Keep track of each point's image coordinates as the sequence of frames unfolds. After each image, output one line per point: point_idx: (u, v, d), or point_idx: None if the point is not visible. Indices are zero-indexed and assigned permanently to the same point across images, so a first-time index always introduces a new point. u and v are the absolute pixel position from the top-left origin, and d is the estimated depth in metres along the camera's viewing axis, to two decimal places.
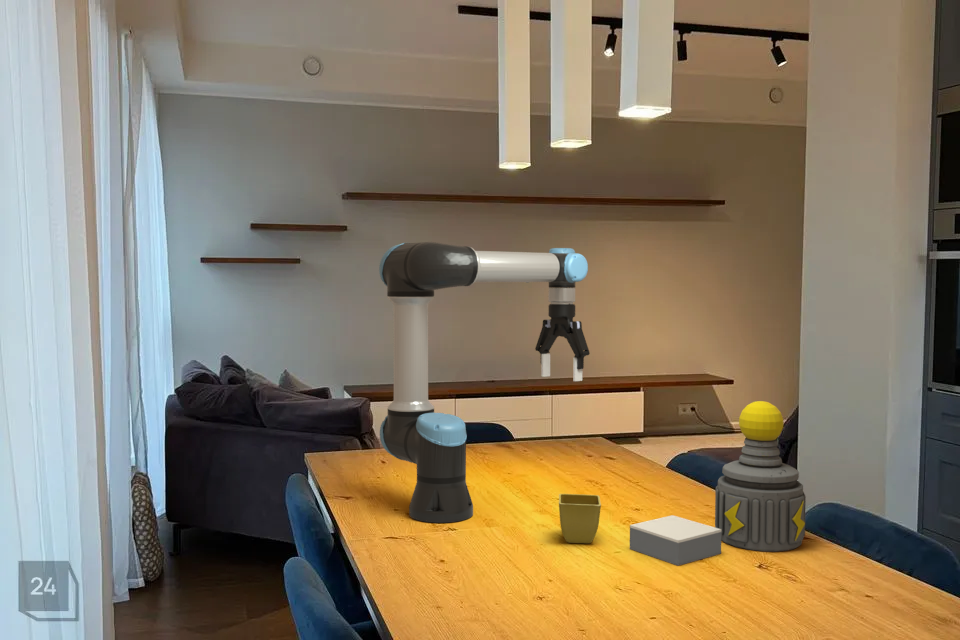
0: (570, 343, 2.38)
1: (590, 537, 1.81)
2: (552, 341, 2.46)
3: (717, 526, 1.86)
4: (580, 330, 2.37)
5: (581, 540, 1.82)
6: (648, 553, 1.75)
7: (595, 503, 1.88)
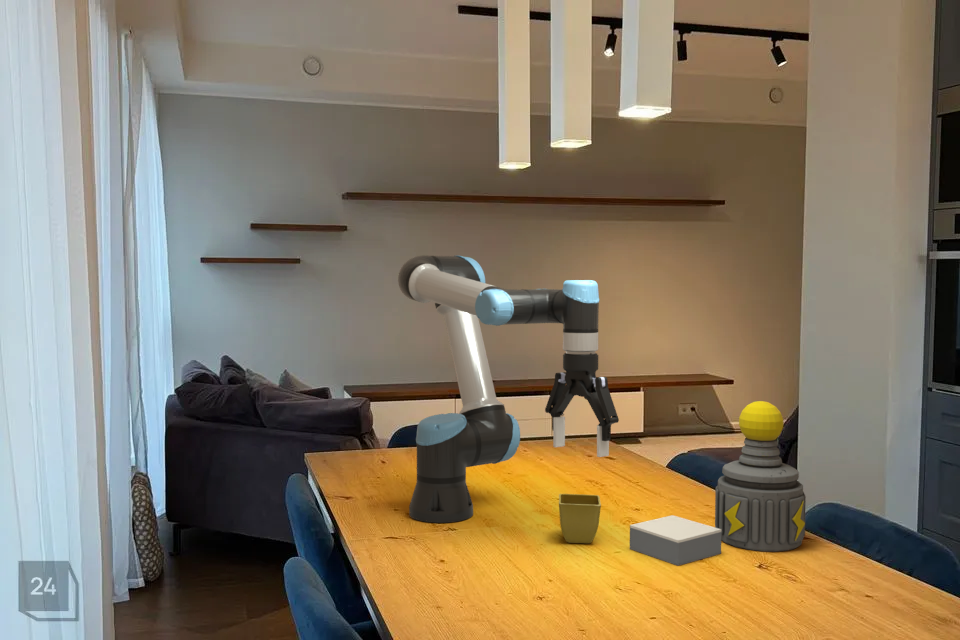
0: (592, 406, 1.80)
1: (590, 537, 1.81)
2: (567, 401, 1.88)
3: (717, 526, 1.86)
4: (606, 389, 1.79)
5: (581, 540, 1.82)
6: (648, 553, 1.75)
7: (595, 503, 1.88)
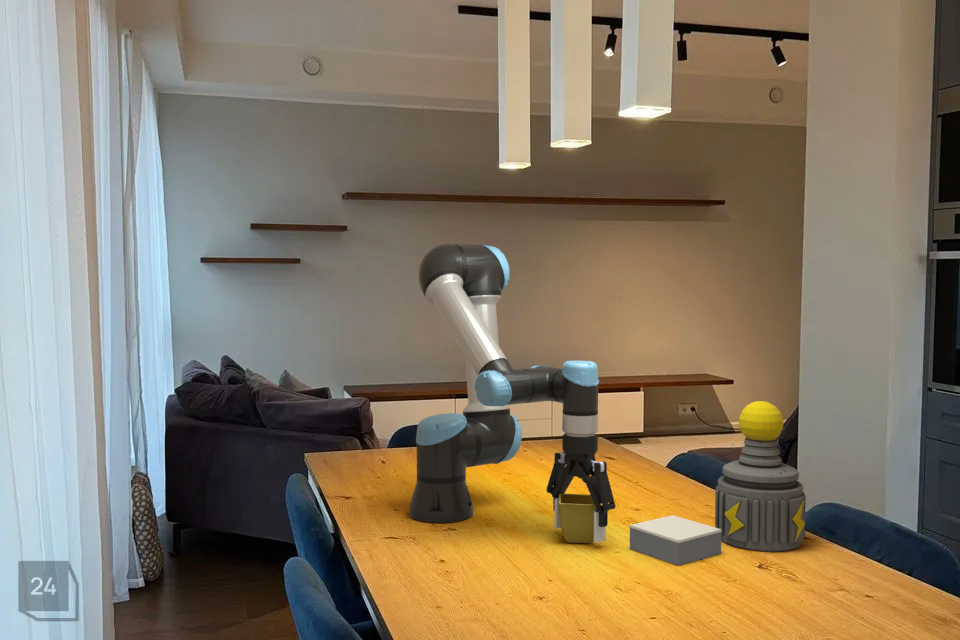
0: (590, 490, 1.80)
1: (590, 537, 1.81)
2: (568, 481, 1.88)
3: (717, 526, 1.86)
4: (604, 474, 1.79)
5: (581, 540, 1.82)
6: (648, 553, 1.75)
7: None
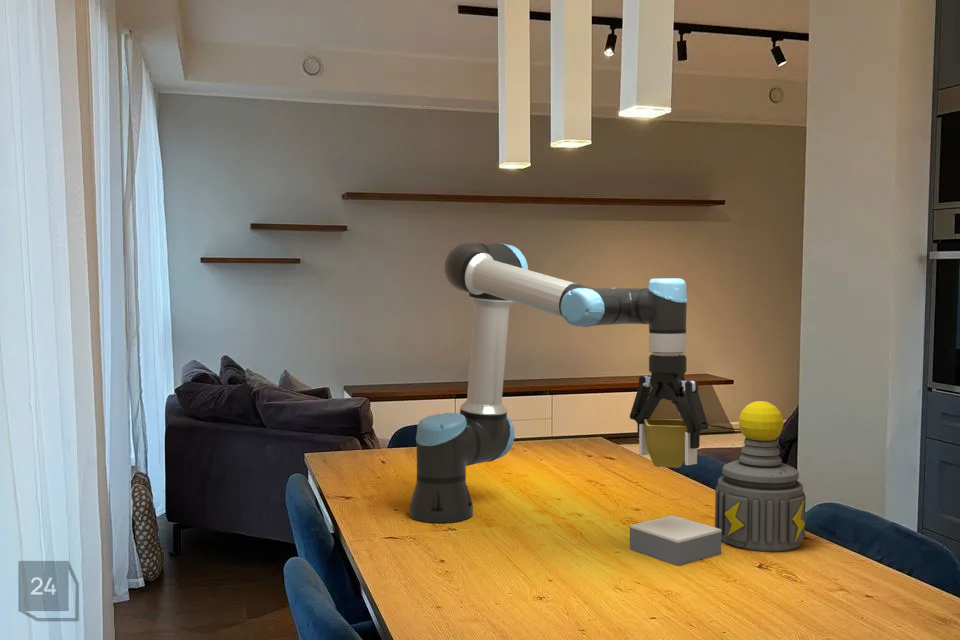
0: (681, 411, 1.72)
1: (680, 461, 1.73)
2: (654, 406, 1.80)
3: (717, 526, 1.86)
4: (696, 394, 1.71)
5: (670, 464, 1.74)
6: (648, 553, 1.75)
7: None
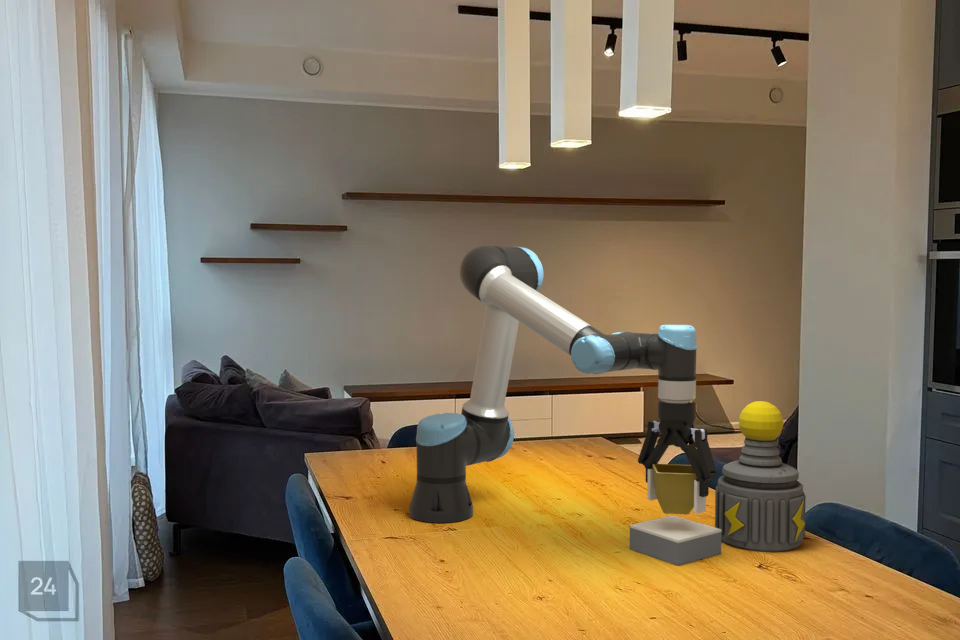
0: (690, 459, 1.72)
1: (689, 508, 1.73)
2: (662, 451, 1.80)
3: (717, 526, 1.86)
4: (705, 442, 1.71)
5: (679, 511, 1.74)
6: (648, 553, 1.75)
7: (690, 473, 1.80)
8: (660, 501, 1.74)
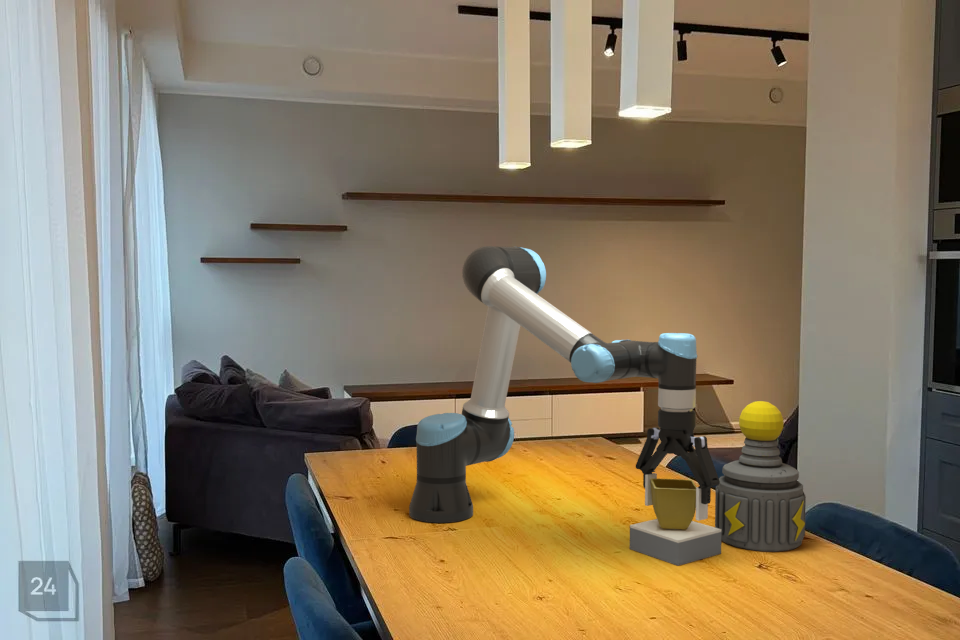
0: (691, 467, 1.72)
1: (687, 523, 1.74)
2: (661, 458, 1.80)
3: (717, 526, 1.86)
4: (705, 449, 1.71)
5: (677, 526, 1.75)
6: (648, 553, 1.75)
7: (688, 488, 1.81)
8: (658, 516, 1.74)
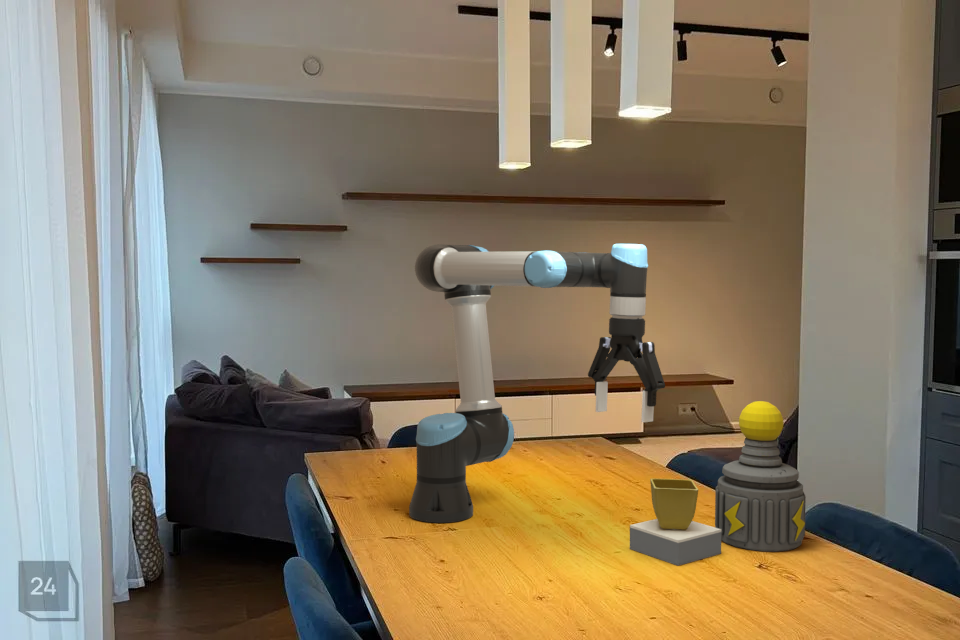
0: (638, 371, 1.78)
1: (687, 523, 1.74)
2: (611, 366, 1.87)
3: (717, 526, 1.86)
4: (653, 354, 1.77)
5: (677, 526, 1.75)
6: (648, 553, 1.75)
7: (688, 488, 1.81)
8: (658, 516, 1.74)
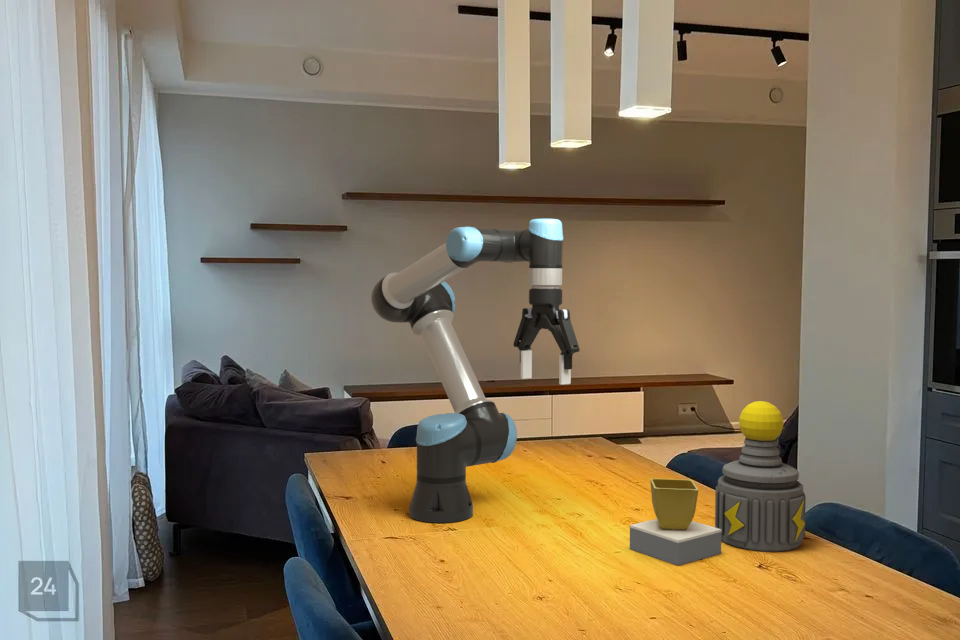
0: (555, 337, 1.90)
1: (687, 523, 1.74)
2: (534, 335, 1.99)
3: (717, 526, 1.86)
4: (568, 321, 1.90)
5: (677, 526, 1.75)
6: (648, 553, 1.75)
7: (688, 488, 1.81)
8: (658, 516, 1.74)
